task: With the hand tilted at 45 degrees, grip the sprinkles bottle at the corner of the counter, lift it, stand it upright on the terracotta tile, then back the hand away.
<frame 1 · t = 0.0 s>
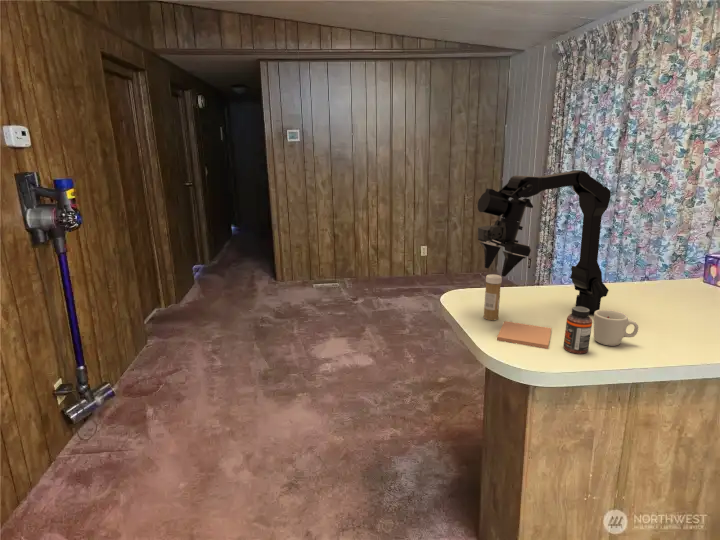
hand: (494, 272, 138), 15 cm above the table, tool pointing down, fingers open, 9 cm apart
terracotta tile: (524, 335, 132), on the table
supplement bottle: (575, 350, 123), on the table
sprinkles bottle: (490, 318, 145), on the table
cup: (612, 343, 128), on the table
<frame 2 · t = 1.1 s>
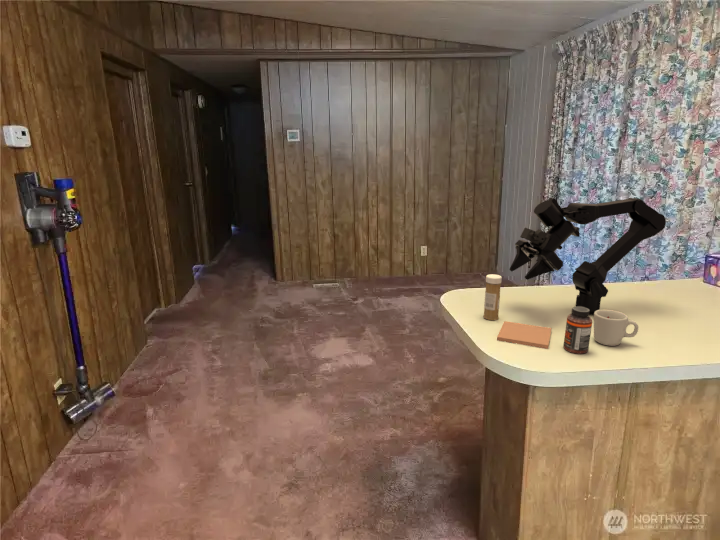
hand: (517, 274, 143), 14 cm above the table, tool tilted 45°, fingers open, 9 cm apart
nothing on the table moved.
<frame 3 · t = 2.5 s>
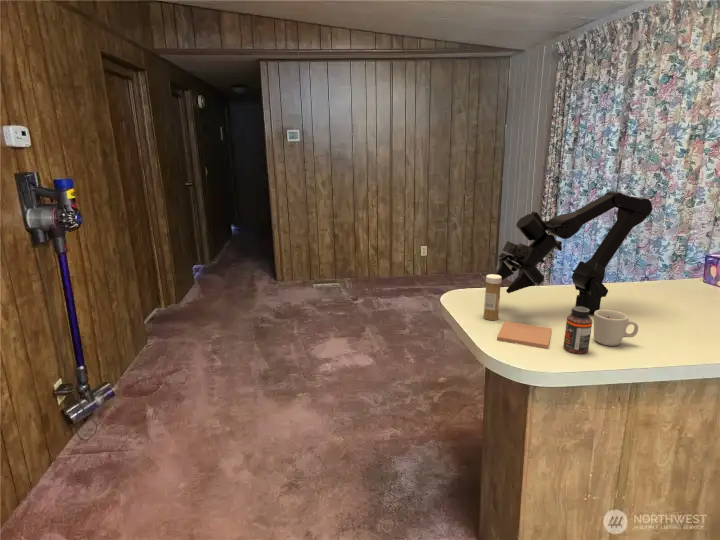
hand: (499, 287, 143), 10 cm above the table, tool tilted 45°, fingers open, 9 cm apart
nothing on the table moved.
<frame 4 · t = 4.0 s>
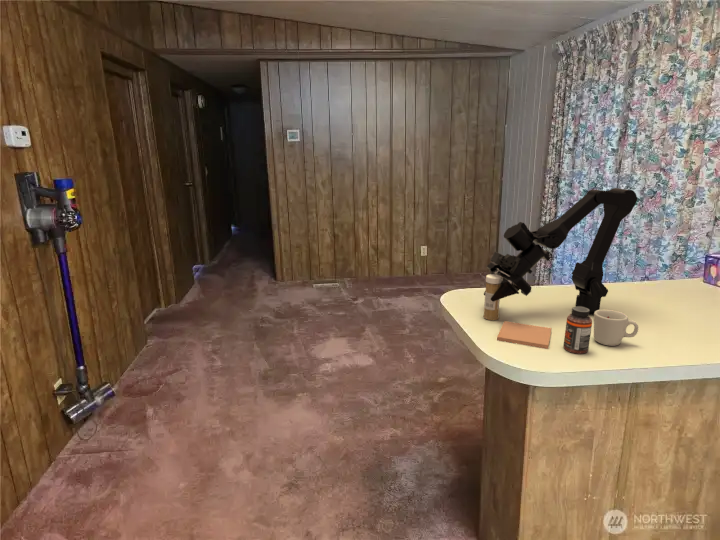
hand: (488, 297, 143), 7 cm above the table, tool tilted 45°, fingers closed on sprinkles bottle, 4 cm apart
sprinkles bottle: (490, 318, 145), on the table, touching gripper
everything else where it was.
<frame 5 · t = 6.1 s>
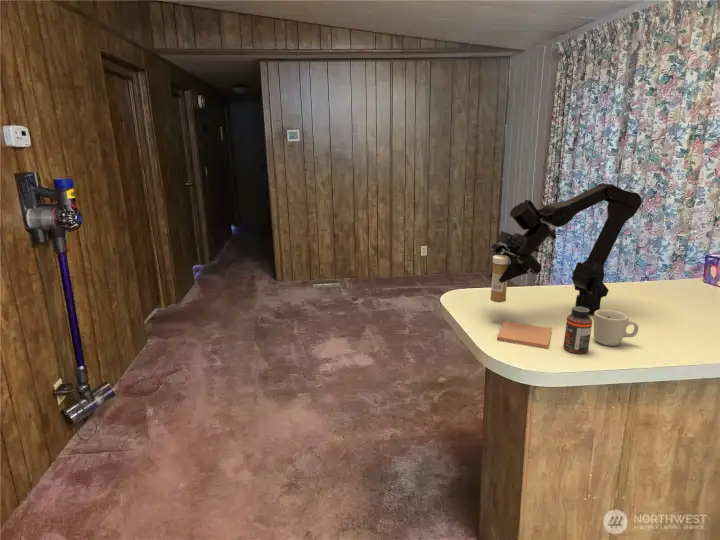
hand: (495, 279, 139), 13 cm above the table, tool tilted 45°, fingers closed on sprinkles bottle, 4 cm apart
sprinkles bottle: (497, 301, 141), point 6 cm above the table, touching gripper
everything else where it was.
when the fingers open (9 cm above the table, at t = 8.4 s): sprinkles bottle drops 1 cm, resting on terracotta tile.
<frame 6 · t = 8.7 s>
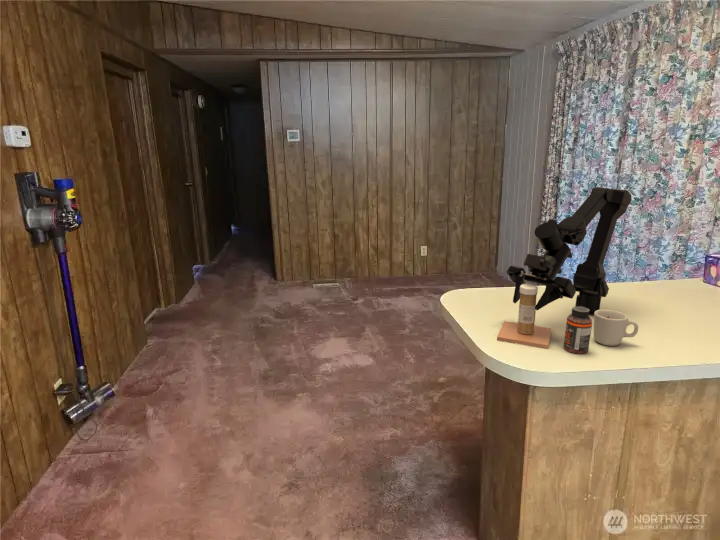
hand: (524, 305, 129), 9 cm above the table, tool tilted 45°, fingers open, 7 cm apart
sprinkles bottle: (525, 332, 132), point 1 cm above the table, touching terracotta tile
everything else where it was.
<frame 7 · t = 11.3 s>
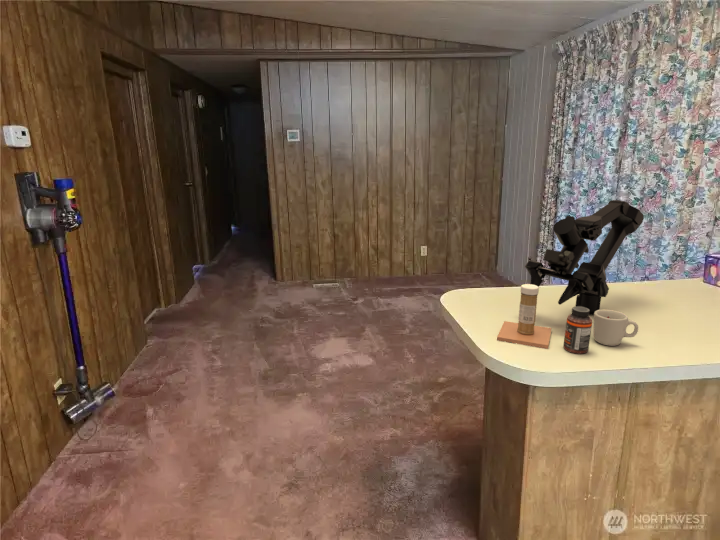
hand: (543, 299, 134), 9 cm above the table, tool tilted 45°, fingers open, 9 cm apart
nothing on the table moved.
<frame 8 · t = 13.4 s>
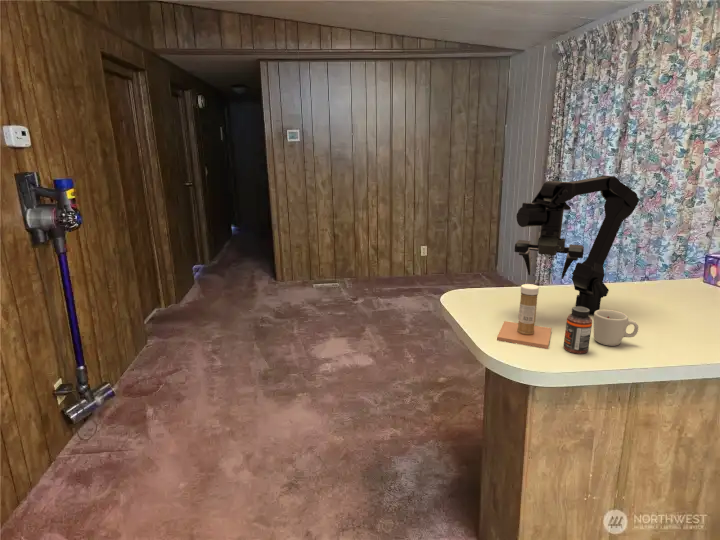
hand: (545, 276, 142), 13 cm above the table, tool pointing down, fingers open, 9 cm apart
nothing on the table moved.
at the end: sprinkles bottle inside the target area on the terracotta tile (0.2 cm from its centre), point 0.8 cm above the terracotta tile's base; sprinkles bottle tilted 0°; the gripper is holding nothing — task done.
